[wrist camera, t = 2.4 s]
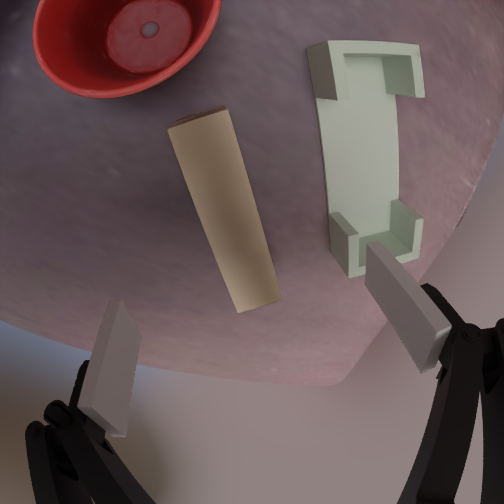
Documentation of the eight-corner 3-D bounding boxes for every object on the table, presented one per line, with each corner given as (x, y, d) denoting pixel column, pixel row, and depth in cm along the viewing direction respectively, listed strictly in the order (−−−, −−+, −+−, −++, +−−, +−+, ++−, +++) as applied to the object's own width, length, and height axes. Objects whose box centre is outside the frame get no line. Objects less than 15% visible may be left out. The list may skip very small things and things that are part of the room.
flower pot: (199, -36, 15) (195, -92, 6) (231, 71, 20) (245, 58, 12) (80, 10, 15) (22, -16, 7) (109, 114, 21) (56, 132, 12)
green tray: (330, 250, 30) (348, 278, 26) (305, 48, 20) (327, 40, 16) (394, 234, 30) (418, 258, 26) (386, 48, 20) (418, 45, 16)
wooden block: (232, 273, 31) (237, 313, 25) (177, 120, 22) (166, 129, 17) (270, 262, 30) (282, 300, 25) (223, 105, 22) (227, 109, 17)
